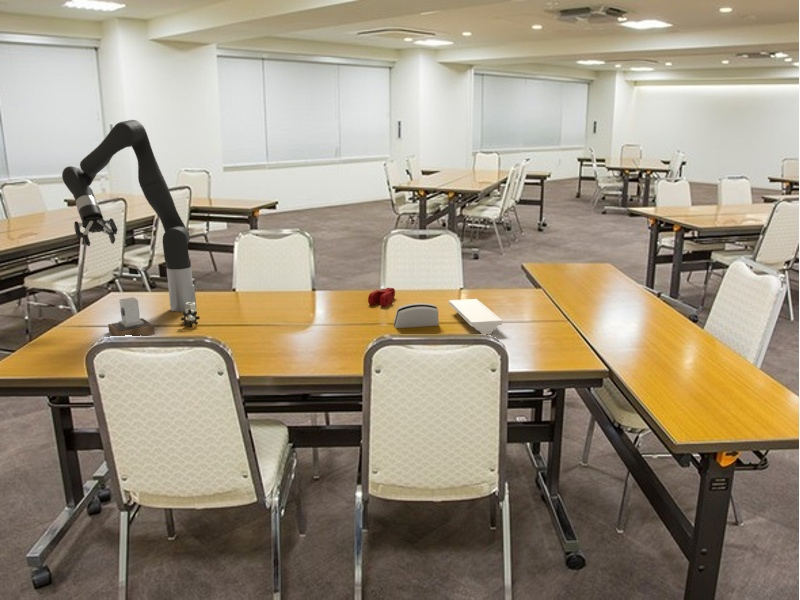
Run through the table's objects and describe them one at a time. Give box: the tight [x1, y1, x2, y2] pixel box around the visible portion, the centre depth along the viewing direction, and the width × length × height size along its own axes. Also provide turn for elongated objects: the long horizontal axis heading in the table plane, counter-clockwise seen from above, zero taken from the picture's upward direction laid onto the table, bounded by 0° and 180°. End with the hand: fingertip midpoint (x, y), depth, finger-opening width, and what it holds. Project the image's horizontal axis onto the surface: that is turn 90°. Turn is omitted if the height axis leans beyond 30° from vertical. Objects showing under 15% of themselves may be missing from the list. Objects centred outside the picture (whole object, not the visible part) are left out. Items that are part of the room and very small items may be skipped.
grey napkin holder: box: [393, 302, 440, 329], centre depth 237 cm, size 17×5×10 cm, turn 102°
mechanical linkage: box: [367, 287, 396, 307], centre depth 270 cm, size 16×7×5 cm, turn 155°
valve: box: [180, 302, 201, 328], centre depth 241 cm, size 7×7×12 cm
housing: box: [118, 296, 144, 328], centre depth 227 cm, size 6×6×9 cm
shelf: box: [448, 298, 503, 336], centre depth 242 cm, size 12×30×5 cm, turn 11°
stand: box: [107, 317, 155, 337], centre depth 228 cm, size 12×12×3 cm
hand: (101, 243), depth 240 cm, fingers open, 8 cm apart
